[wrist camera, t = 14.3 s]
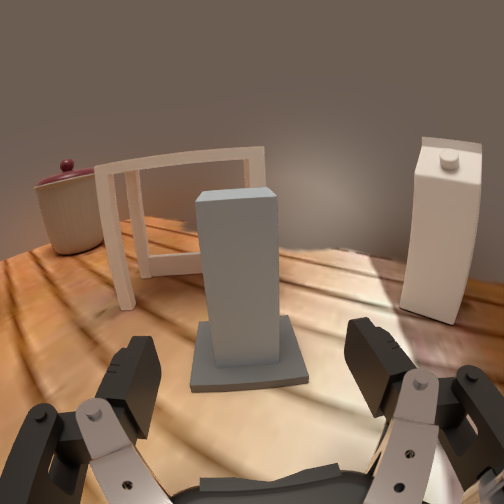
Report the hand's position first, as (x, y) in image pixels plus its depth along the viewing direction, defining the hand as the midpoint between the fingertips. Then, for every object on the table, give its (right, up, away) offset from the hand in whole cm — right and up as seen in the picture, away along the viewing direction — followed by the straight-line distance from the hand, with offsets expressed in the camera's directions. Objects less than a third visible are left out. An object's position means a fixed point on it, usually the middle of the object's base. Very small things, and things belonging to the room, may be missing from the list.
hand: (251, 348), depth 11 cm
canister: (-40, +5, +47) cm, 62 cm away
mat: (0, -5, +13) cm, 14 cm away
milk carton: (+22, -3, +18) cm, 28 cm away
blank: (0, -4, +13) cm, 14 cm away
